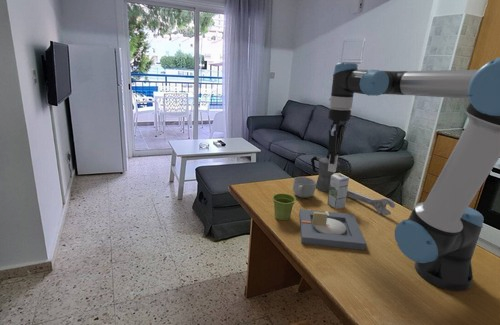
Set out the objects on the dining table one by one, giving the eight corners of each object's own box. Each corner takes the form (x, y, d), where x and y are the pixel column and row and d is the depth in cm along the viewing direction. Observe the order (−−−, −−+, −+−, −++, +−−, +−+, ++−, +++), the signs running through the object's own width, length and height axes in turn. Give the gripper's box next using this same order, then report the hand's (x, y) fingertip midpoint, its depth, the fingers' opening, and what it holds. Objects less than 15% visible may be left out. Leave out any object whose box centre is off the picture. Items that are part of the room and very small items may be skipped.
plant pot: (298, 217, 125) (300, 198, 122) (284, 225, 118) (286, 205, 116) (280, 209, 131) (281, 191, 128) (266, 216, 124) (267, 197, 122)
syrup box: (345, 207, 136) (350, 177, 132) (335, 209, 134) (339, 179, 129) (336, 202, 141) (340, 173, 136) (326, 204, 138) (330, 174, 134)
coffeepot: (339, 188, 157) (344, 155, 152) (333, 194, 150) (338, 159, 144) (312, 181, 165) (315, 149, 160) (304, 186, 158) (308, 153, 152)
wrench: (342, 198, 153) (394, 218, 127) (339, 198, 152) (391, 219, 126) (343, 183, 151) (395, 200, 125) (340, 183, 150) (392, 201, 124)
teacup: (298, 189, 154) (300, 174, 151) (318, 195, 148) (320, 180, 145) (284, 197, 143) (286, 182, 140) (305, 204, 137) (307, 188, 135)
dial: (342, 221, 121) (344, 208, 119) (348, 237, 109) (350, 223, 108) (311, 218, 122) (312, 205, 120) (313, 234, 111) (315, 219, 109)
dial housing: (365, 250, 105) (366, 243, 104) (301, 243, 107) (302, 236, 106) (352, 219, 125) (353, 213, 125) (299, 214, 128) (299, 208, 127)
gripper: (335, 105, 114) (327, 165, 121) (324, 109, 104) (316, 173, 111) (355, 108, 110) (346, 168, 118) (346, 111, 100) (336, 178, 107)
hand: (331, 171), depth 114 cm, fingers closed
